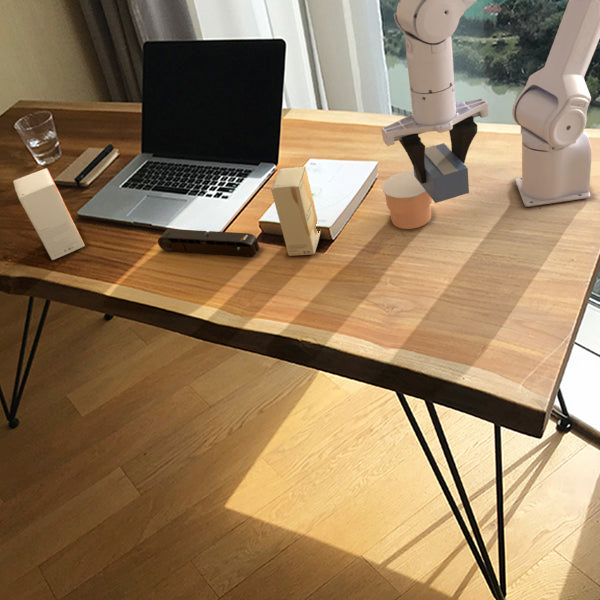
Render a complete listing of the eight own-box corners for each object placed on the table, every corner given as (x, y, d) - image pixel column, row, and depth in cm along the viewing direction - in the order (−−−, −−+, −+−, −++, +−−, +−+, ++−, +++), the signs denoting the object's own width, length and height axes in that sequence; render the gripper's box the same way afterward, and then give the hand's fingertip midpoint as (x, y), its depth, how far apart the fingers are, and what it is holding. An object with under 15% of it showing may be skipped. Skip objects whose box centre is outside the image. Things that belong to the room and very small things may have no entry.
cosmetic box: (314, 255, 105) (298, 187, 97) (288, 257, 106) (269, 190, 98) (321, 231, 109) (306, 164, 102) (295, 233, 111) (278, 167, 103)
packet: (414, 176, 101) (411, 152, 99) (445, 166, 102) (444, 142, 99) (435, 203, 95) (433, 177, 92) (469, 192, 95) (467, 167, 92)
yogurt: (433, 201, 109) (429, 167, 106) (438, 227, 104) (435, 193, 100) (385, 208, 111) (381, 175, 107) (388, 235, 105) (383, 201, 101)
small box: (86, 246, 121) (54, 183, 113) (51, 261, 120) (17, 198, 112) (77, 227, 127) (46, 166, 119) (44, 241, 126) (11, 180, 118)
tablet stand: (160, 251, 115) (154, 237, 113) (168, 242, 117) (162, 228, 115) (254, 258, 108) (249, 242, 106) (260, 248, 109) (256, 233, 107)
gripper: (389, 111, 85) (400, 202, 94) (497, 78, 86) (499, 172, 94) (372, 91, 91) (384, 179, 99) (474, 61, 91) (478, 151, 100)
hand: (439, 174), depth 97 cm, fingers closed on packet, 5 cm apart
